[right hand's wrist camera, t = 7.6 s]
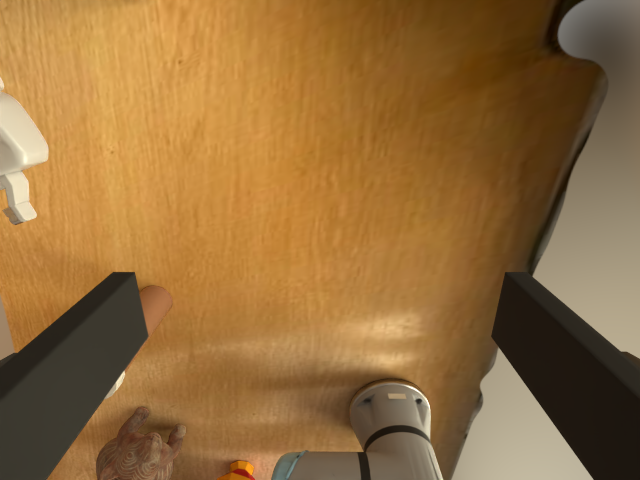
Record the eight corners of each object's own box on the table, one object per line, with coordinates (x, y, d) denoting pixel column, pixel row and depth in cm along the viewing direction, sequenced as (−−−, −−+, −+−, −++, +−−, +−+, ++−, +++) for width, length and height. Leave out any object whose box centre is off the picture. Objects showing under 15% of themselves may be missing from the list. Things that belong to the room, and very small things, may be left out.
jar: (135, 306, 60) (64, 386, 44) (144, 280, 58) (73, 353, 42) (167, 318, 61) (110, 401, 45) (176, 293, 59) (121, 369, 43)
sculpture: (208, 397, 68) (179, 475, 54) (168, 476, 76) (133, 561, 62) (137, 371, 65) (88, 445, 51) (103, 455, 74) (53, 539, 60)
